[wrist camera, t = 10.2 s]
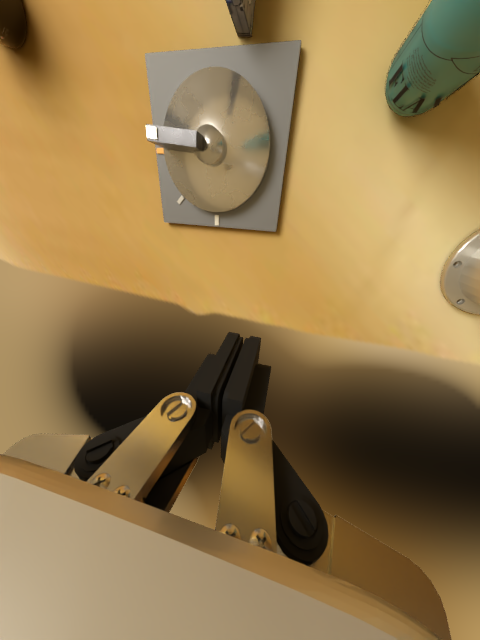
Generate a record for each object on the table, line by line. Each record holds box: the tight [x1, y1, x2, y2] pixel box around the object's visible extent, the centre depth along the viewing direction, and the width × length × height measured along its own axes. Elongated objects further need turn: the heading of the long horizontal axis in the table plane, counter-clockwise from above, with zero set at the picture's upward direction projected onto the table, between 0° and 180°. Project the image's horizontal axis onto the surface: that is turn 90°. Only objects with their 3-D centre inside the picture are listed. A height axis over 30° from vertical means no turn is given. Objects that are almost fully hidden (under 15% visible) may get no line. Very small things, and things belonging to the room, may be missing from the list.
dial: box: [146, 67, 270, 212], centre depth 24 cm, size 14×14×5 cm
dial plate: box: [145, 40, 301, 232], centre depth 27 cm, size 18×18×1 cm
